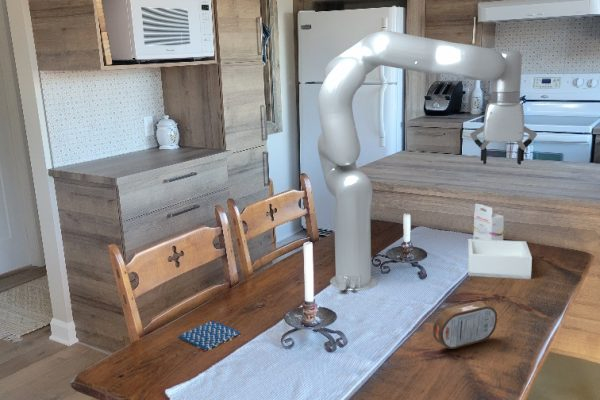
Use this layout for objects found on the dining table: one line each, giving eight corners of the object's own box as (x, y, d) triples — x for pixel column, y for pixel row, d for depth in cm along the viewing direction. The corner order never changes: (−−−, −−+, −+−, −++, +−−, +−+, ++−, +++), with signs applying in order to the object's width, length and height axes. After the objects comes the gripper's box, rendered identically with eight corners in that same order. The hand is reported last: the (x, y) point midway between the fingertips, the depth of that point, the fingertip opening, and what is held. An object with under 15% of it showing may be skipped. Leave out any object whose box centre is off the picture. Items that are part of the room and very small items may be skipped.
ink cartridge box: (503, 253, 175) (505, 206, 172) (490, 255, 173) (492, 208, 170) (485, 245, 183) (486, 200, 180) (472, 248, 181) (473, 202, 178)
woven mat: (175, 343, 125) (174, 335, 125) (212, 326, 133) (212, 318, 133) (205, 358, 119) (204, 349, 118) (243, 339, 126) (243, 331, 126)
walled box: (530, 279, 153) (532, 257, 152) (468, 275, 158) (469, 254, 156) (524, 261, 168) (526, 241, 166) (467, 258, 172) (468, 239, 170)
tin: (488, 332, 124) (490, 296, 122) (499, 338, 121) (500, 301, 120) (431, 348, 118) (432, 310, 117) (440, 354, 116) (441, 315, 114)
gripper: (470, 100, 151) (468, 165, 155) (541, 98, 147) (537, 166, 151) (470, 98, 158) (468, 161, 162) (537, 97, 154) (534, 161, 158)
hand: (501, 163), depth 156 cm, fingers open, 8 cm apart
